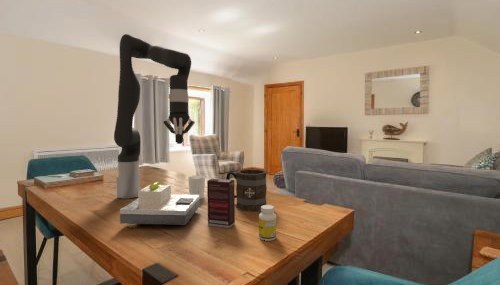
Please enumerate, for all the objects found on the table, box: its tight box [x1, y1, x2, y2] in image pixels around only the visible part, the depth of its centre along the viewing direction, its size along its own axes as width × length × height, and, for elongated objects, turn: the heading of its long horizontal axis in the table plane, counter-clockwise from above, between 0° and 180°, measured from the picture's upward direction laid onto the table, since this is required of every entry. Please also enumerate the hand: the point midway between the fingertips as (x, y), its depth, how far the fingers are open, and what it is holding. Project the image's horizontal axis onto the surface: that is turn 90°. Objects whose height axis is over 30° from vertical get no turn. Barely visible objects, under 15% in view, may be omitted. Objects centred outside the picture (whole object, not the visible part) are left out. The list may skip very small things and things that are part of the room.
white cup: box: [187, 174, 206, 200], centre depth 130 cm, size 8×8×10 cm
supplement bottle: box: [258, 204, 277, 242], centre depth 84 cm, size 5×5×10 cm
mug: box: [225, 168, 268, 212], centre depth 117 cm, size 20×14×15 cm
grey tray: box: [119, 199, 201, 229], centre depth 100 cm, size 22×20×5 cm
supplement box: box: [206, 177, 236, 229], centre depth 95 cm, size 9×5×16 cm, turn 71°
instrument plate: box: [119, 181, 200, 215], centre depth 100 cm, size 22×20×8 cm
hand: (179, 143), depth 112 cm, fingers closed
